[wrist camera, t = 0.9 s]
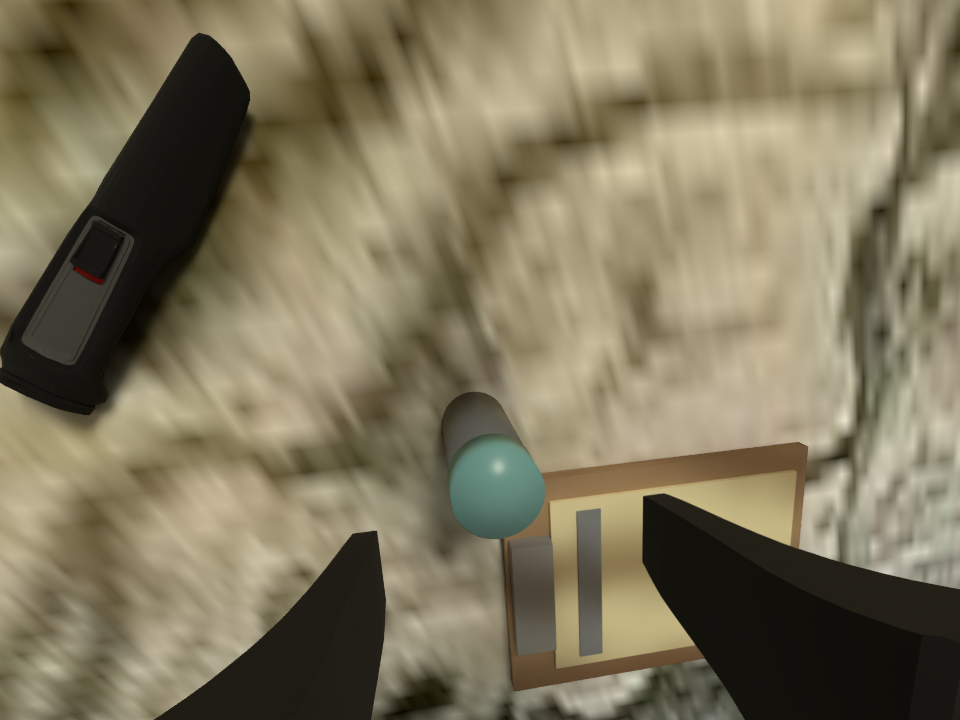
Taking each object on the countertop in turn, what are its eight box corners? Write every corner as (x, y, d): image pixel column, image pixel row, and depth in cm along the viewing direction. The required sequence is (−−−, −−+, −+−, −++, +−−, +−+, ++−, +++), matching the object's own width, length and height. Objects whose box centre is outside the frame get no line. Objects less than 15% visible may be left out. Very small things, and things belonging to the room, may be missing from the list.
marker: (508, 449, 22) (546, 532, 15) (444, 456, 22) (454, 545, 15) (504, 387, 21) (543, 445, 15) (438, 394, 21) (446, 456, 14)
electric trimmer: (289, 106, 18) (264, 73, 15) (105, 416, 20) (49, 442, 17) (202, 44, 18) (156, -4, 14) (16, 371, 19) (-61, 390, 16)
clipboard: (781, 635, 27) (801, 655, 25) (511, 681, 25) (516, 705, 23) (798, 442, 24) (821, 452, 23) (498, 478, 22) (504, 492, 21)
